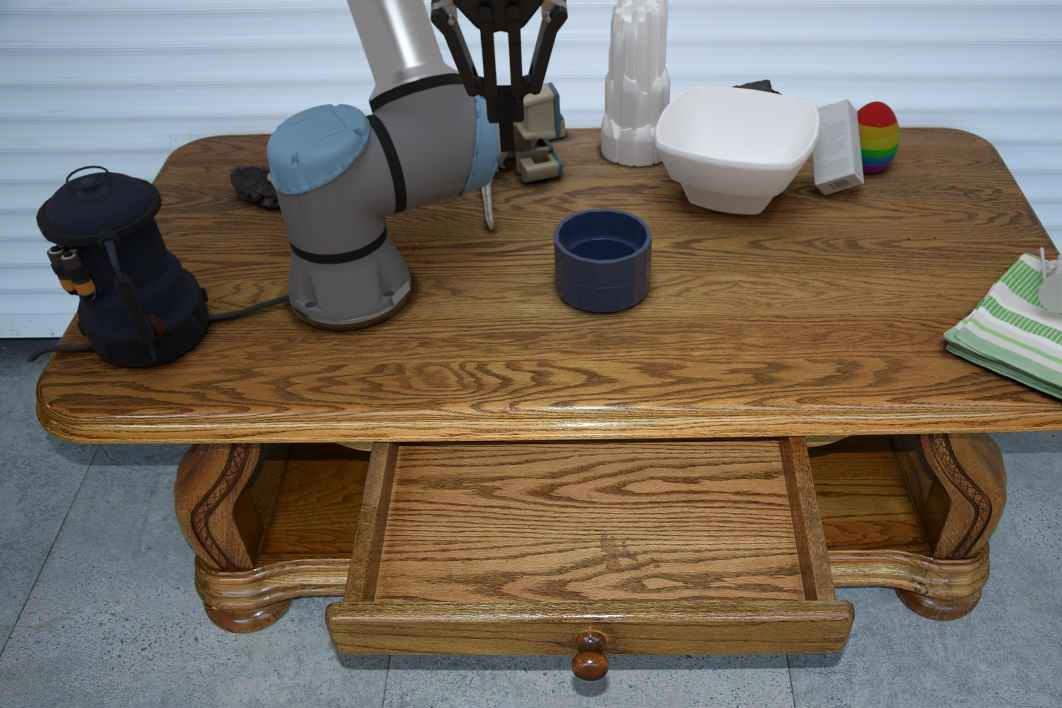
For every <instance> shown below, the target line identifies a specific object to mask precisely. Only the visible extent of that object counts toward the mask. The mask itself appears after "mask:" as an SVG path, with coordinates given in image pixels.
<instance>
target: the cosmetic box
mask: <svg viewBox="0 0 1062 708" xmlns="http://www.w3.org/2000/svg"><path fill="white" fill-rule="evenodd" d="M816 109H817V111H818V113H819V116H820V134H819V139H818V142H817V144H816V146H815V148H814V150H813V152H812V153H811V156H812V166H813V167H812V168H813V181H814V186H815V187H816V188H817V189H818V190H819V191H820V192H821V193H822V194H823V195H824V196H828V195H831V194H834V193H839V192H841V191H844V190H847V189H851V188H855V187H858V186H862V185H864V184H865V181H864V180H865V179H864V173H863V168H862V157H861V147H860V137H859V126H858V116H857V111H858V110H857V109H856V108H855V107H854V105H853V103H851V101H850V99H848V98H846V99H842V100H841V101H838V102H834V103H829V104H827V105H824V106H822V107H820V108H816Z"/></svg>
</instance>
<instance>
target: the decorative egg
mask: <svg viewBox="0 0 1062 708" xmlns="http://www.w3.org/2000/svg"><path fill="white" fill-rule="evenodd" d="M856 111H857V116H858V126H859V137H860V147H861V157H862V168H863V174H876V173H879V172H881V171H884V170H885V169H886V168H887V167H888V166H889V165H890V164H891V162H892V161H893V160H894V158H895V156H896V155H897V152H898V149H899V145H900V137H901V136H900V125H899V121H898V118H897V115H896V114H895V112H894V111H893V109H892V108H891V107H890V106H889V105H888V104H887V103H885V102H883V101H880V100H879V101H877V100H875V101H871V102H869V103H866V104H865V105H862V106H861V107H860V108H859V109H857V110H856Z"/></svg>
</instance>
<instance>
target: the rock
mask: <svg viewBox="0 0 1062 708" xmlns="http://www.w3.org/2000/svg"><path fill="white" fill-rule="evenodd" d="M229 179H230V184H231V186H232V187H233V188H234V190H235V195H236V196H237V197H238V198H240V199H243V200H245V201H248V202H251V203H257V202H258V205H259V206H261V207H266V208H267V209H275V208H278V207H280V205H279V201H278V198H277V194H276V190H275V188H274V187H273V185H272V182H271V179H270V168H269V164H268V165H262V164H261V165H260V164H253V163H252V164H249V165H247V166H245V165H244V166H236V167H234V169H233V171H231V172H230V174H229Z"/></svg>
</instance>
